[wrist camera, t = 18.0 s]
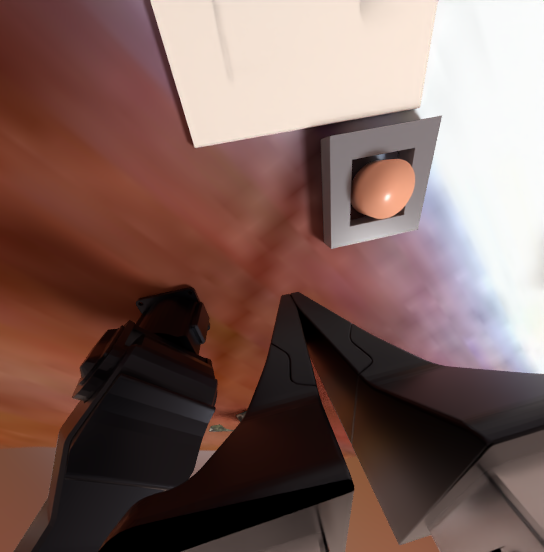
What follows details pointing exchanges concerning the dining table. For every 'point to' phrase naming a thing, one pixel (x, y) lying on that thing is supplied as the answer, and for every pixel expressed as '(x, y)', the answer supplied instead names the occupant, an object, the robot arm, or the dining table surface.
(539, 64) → the dining table surface
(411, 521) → the robot arm
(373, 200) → the button
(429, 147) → the button housing
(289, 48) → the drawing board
